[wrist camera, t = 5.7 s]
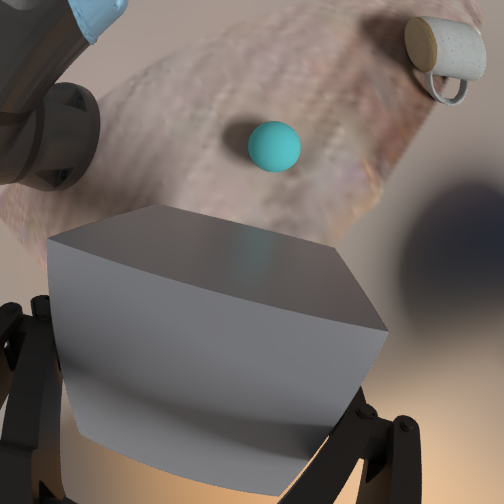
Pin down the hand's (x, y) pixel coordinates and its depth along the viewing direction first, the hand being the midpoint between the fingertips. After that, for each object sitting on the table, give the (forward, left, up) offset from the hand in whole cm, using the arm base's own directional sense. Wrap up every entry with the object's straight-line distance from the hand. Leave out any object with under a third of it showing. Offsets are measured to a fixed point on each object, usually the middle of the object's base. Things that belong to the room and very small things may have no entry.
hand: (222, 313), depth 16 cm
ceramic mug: (+16, +28, -16) cm, 36 cm away
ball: (0, +11, -13) cm, 17 cm away
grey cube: (0, 0, -1) cm, 1 cm away
